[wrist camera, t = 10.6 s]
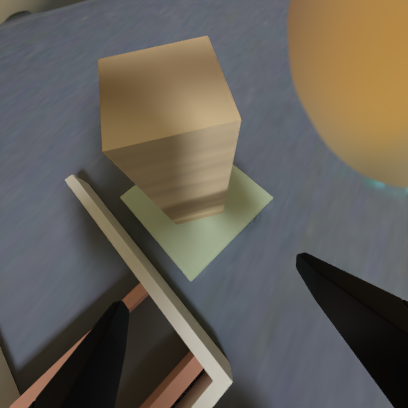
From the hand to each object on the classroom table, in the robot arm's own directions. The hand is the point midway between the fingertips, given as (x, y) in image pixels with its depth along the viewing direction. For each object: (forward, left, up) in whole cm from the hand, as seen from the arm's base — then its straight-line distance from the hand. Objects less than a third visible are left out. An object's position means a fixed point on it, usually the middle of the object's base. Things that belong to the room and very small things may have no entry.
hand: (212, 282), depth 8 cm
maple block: (+2, -8, -8) cm, 11 cm away
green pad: (+2, -8, -9) cm, 12 cm away
